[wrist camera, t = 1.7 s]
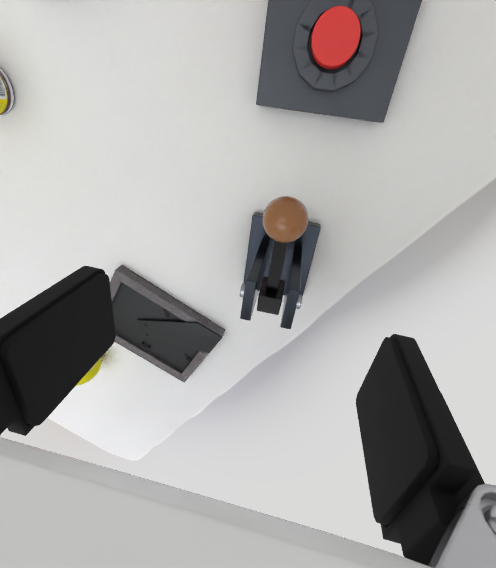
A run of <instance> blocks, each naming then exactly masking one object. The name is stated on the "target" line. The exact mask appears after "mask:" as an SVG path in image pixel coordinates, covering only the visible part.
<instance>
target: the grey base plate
mask: <svg viewBox="0 0 496 568" xmlns="http://www.w3.org/2000/svg"><path fill="white" fill-rule="evenodd" d="M421 1H422V0H269V1H268V9H267V17H266V26H265V34H264V43H263V51H262V59H261V68H260V76H259V85H258V93H257V101H256V104H257V105H260V106H267V107H274V108H281V109H288V110H295V111H302V112H309V113H316V114H323V115H330V116H337V117H344V118H351V119H358V120H364V121H371V122H381V123H383V122H384V119H385V115H386V112H387V109H388V106H389V103H390V100H391V96H392V93H393V90H394V87H395V84H396V81H397V77H398V74H399V71H400V68H401V65H402V61H403V58H404V55H405V52H406V49H407V46H408V42H409V39H410V36H411V33H412V30H413V27H414V23H415V20H416V17H417V14H418V11H419V8H420V4H421ZM335 6H345V7H348V8H350V9H351V10H352V11H354V13H355V14H356V15H357V17H358V19H359V22H360V28H361V33H360V40H359V43H358V46H357V48H356V50H355V52H354V53H353V55H352V56H351V58H350V59H349V60H348V61H347V62H346V63H345V64H344V65H343V66H341V67H339V68H337V69H325V68H322V67H321V66H319V65H318V64H317V62H316V61H315V59H314V57H313V54H312V48H311V43H312V33H313V30H314V27H315V24H316V22H317V21H318V19H319V18H320V16H321V15H322V14H323V13H324V12H326V11H327V10H328V9H330V8H332V7H335Z"/></svg>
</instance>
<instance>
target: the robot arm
mask: <svg viewBox="0 0 496 568" xmlns="http://www.w3.org/2000/svg"><path fill="white" fill-rule="evenodd" d="M115 337H116V332H115V324H114V315H113V307H112V299H111V290H110V282H109V277H108V275H106V274H105V272H104V270H102V269H98V268H94V267H89V266H83V267H81V268H80V269H78V270H77V271H75V272H73V273H72V274H70V275H69V276H67V277H66V278H64V279H62V280H61V281H59V282H58V283H56V284H54V285H53V286H51V287H50V288H48V289H46V290H45V291H43V292H42V293H40V294H39V295H37V296H35V297H34V298H32V299H31V300H29V301H27V302H26V303H24V304H23V305H21V306H20V307H18V308H16V309H15V310H13V311H12V312H10V313H8V314H7V315H5V316H4V317H2V318H1V319H0V435H1V433H2V432H3V431H4V430H5V429H6V428H8V430H9V431H11V432H15V433H18V434H22V435H25V436H26V435H27V434H28V433H29V432H30V431H31V429H32V428H33V427H34V426H37V425H40V424H41V423H42V422H43V421H44V420H45V419H46V418H47V417H48V416H49V415H50V414H51V413H52V411H53V410H54V409H55V408H56V407H57V406H58V405H59V404H60V403H61V401H62V400H63V399H64V398H65V397H66V396H67V395H68V394H69V392H70V391H71V390H72V389H73V388H74V387H75V386H76V385H77V384H78V382H79V381H80V380H81V379H82V378H83V377H84V376H85V375H86V374H87V372H88V371H89V370H90V369H91V368H92V367H93V366H94V365H95V363H96V362H97V361H98V360H99V359H100V358H101V357H102V356H103V355H104V353H105V352H106V351H107V350H108V349H109V348H110V347H111V346H112V344H113V343H114V341H115ZM356 407H357V413H358V419H359V426H360V432H361V438H362V444H363V451H364V457H365V464H366V470H367V476H368V482H369V489H370V495H371V502H372V508H373V514H374V518H375V520H376V522H377V523H381V528H382V534H383V539H386V540H390V541H393V542H396V543H400V544H401V546H402V551H403V555H404V557H402V556H399V555H396V554H393V553H390V552H387V551H383V550H380V549H378V548H374V547H371V546H368V545H364V544H362V543H359V542H355V541H352V540H349V539H346V538H343V537H339V536H336V535H333V534H330V533H327V532H324V531H321V530H317V529H314V528H310V527H307V526H304V525H300V524H297V523H294V522H290V521H287V520H284V519H280V518H277V517H273V516H270V515H267V514H263V513H260V512H257V511H253V510H250V509H246V508H243V507H240V506H236V505H233V504H230V503H226V502H223V501H220V500H216V499H213V498H209V497H206V496H202V495H199V494H195V493H192V492H189V491H185V490H182V489H178V488H175V487H171V486H168V485H165V484H161V483H158V482H154V481H151V480H148V479H144V478H141V477H137V476H134V475H130V474H127V473H123V472H120V471H116V470H113V469H110V468H106V467H102V466H99V465H96V464H92V463H89V462H85V461H82V460H78V459H75V458H71V457H68V456H64V455H61V454H57V453H53V452H50V451H47V450H43V449H40V448H36V447H32V446H29V445H25V444H22V443H19V442H15V441H12V440H8V439H5V438H1V437H0V568H496V486H495V485H489V484H485V483H484V481H483V479H482V477H481V475H480V473H479V471H478V469H477V466H476V464H475V462H474V460H473V458H472V456H471V454H470V452H469V450H468V448H467V446H466V444H465V442H464V439H463V437H462V435H461V433H460V431H459V429H458V427H457V425H456V423H455V421H454V419H453V416H452V414H451V412H450V410H449V408H448V406H447V404H446V402H445V400H444V398H443V396H442V394H441V392H440V391H439V389H438V387H437V384H436V382H435V380H434V378H433V376H432V374H431V372H430V370H429V368H428V365H427V363H426V361H425V359H424V357H423V355H422V353H421V351H420V349H419V347H418V344H417V342H416V341H415V339H413V338H410V337H405V336H401V335H397V334H393V335H392V336H391V337H390V338H388V337H386V338H385V339H384V341H383V342H382V344H381V346H380V348H379V351H378V353H377V355H376V357H375V359H374V361H373V363H372V365H371V367H370V369H369V371H368V373H367V375H366V377H365V379H364V381H363V384H362V386H361V388H360V390H359V392H358V394H357V398H356Z"/></svg>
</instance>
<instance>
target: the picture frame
mask: <svg viewBox="0 0 496 568" xmlns="http://www.w3.org/2000/svg"><path fill="white" fill-rule="evenodd" d="M110 290H111V299H112V307H113V315H114V324H115V332H116V337H115V342H116V343H118V344H120V345H121V346H123V347H125V348H126V349H128V350H130V351H132V352H133V353H135V354H137V355H138V356H140V357H142V358H143V359H145V360H147V361H149V362H150V363H152V364H154V365H155V366H157V367H159V368H160V369H162V370H164V371H166V372H167V373H169V374H171V375H172V376H174V377H176V378H177V379H179V380H181V381H183V382H185V381H186V380H187V379H188V377H189V376H190V375H191V374H192V373H193V371H194V370H195V369H196V368H197V367H198V365H199V364H200V363H201V362H202V361H203V359H204V358H205V357H206V356H207V354H208V353H210V351H211V350H212V349H213V348H214V347H215V346H216V344H217V343H218V342H219V341H220V340H221V338H222V336H223V334H224V331H225V330H224V329H223V328H221V327H219V326H218V325H216V324H215V323H213V322H211V321H210V320H208V319H207V318H205V317H204V316H202V315H200V314H199V313H197V312H196V311H194V310H192V309H191V308H189V307H188V306H186V305H185V304H183V303H181V302H180V301H178V300H177V299H175V298H173V297H172V296H170V295H169V294H167V293H165V292H164V291H162V290H161V289H159V288H158V287H156V286H154V285H153V284H151V283H150V282H148V281H146V280H145V279H143V278H142V277H140V276H139V275H137V274H135V273H134V272H132V271H131V270H129V269H127V268H126V267H124V266H123V265H121V266H120V267H119V268H117V269H116V270H115V273H114V275H113V277H112V279H111V282H110Z"/></svg>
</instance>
